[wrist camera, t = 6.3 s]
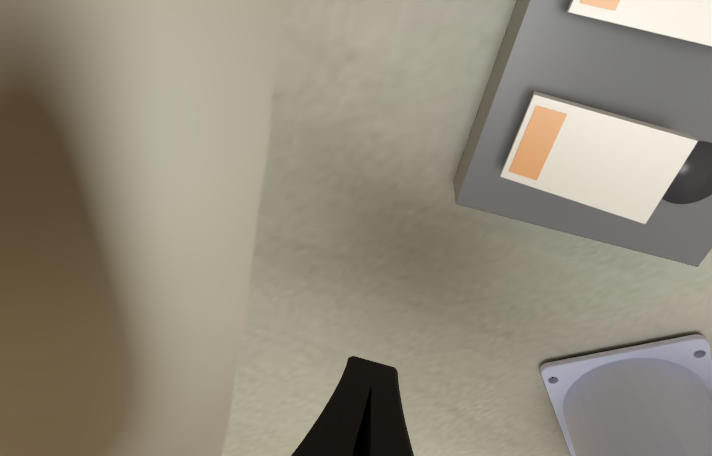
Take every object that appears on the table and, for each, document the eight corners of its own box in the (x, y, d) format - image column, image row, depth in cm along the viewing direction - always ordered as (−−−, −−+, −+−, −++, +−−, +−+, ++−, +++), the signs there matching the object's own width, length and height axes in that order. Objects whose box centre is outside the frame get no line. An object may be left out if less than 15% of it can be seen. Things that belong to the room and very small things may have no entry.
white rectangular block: (640, 215, 15) (645, 225, 15) (501, 170, 16) (500, 177, 16) (690, 134, 14) (698, 141, 13) (534, 90, 15) (534, 94, 14)
